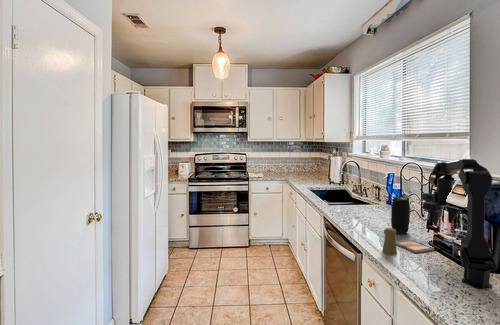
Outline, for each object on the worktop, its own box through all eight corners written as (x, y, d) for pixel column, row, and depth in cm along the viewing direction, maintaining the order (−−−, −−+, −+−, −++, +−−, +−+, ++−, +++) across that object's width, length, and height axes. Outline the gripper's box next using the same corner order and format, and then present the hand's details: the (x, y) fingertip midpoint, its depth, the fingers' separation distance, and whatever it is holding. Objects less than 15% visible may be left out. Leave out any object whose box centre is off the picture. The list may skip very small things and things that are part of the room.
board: (448, 248, 137) (449, 246, 137) (415, 253, 131) (416, 251, 131) (426, 240, 149) (426, 237, 149) (395, 244, 142) (395, 242, 142)
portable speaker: (411, 232, 160) (413, 197, 159) (403, 236, 155) (404, 199, 153) (396, 228, 167) (397, 195, 166) (387, 231, 162) (389, 197, 160)
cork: (384, 248, 137) (385, 225, 136) (398, 251, 133) (399, 228, 132) (380, 252, 132) (381, 228, 131) (395, 256, 128) (396, 231, 128)
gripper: (442, 185, 141) (440, 217, 142) (413, 187, 134) (411, 221, 136) (466, 189, 130) (464, 223, 131) (435, 192, 124) (433, 228, 125)
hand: (442, 223), depth 131 cm, fingers open, 9 cm apart
